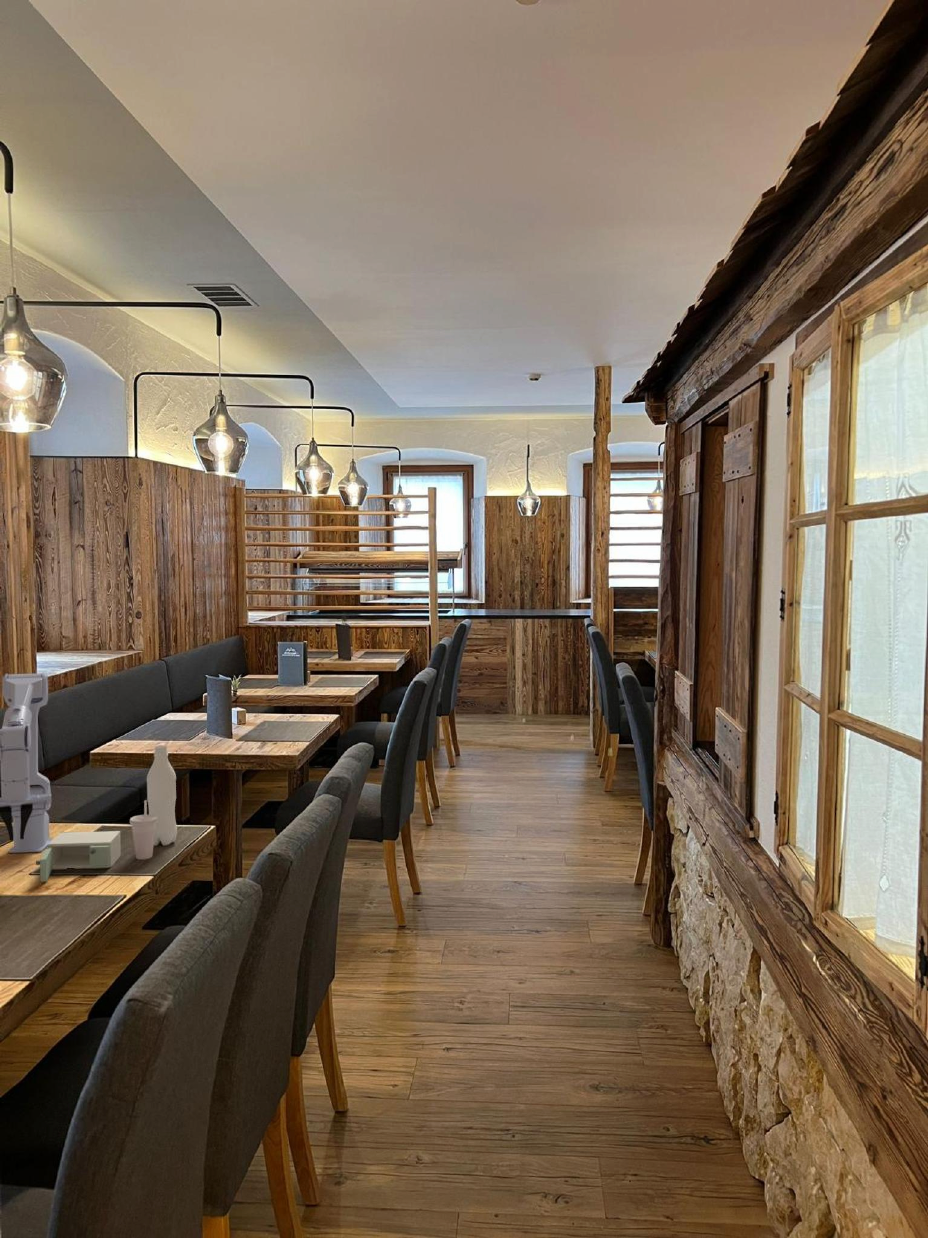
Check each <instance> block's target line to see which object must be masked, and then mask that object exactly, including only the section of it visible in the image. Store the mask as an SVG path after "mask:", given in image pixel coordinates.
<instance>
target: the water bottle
mask: <svg viewBox="0 0 928 1238" xmlns="http://www.w3.org/2000/svg"><path fill="white" fill-rule="evenodd" d="M168 756H169V753H168V745H166V744H165V745H164V744H160V745H155V746H154V754H153V757H154V759H153V763H152V764H151V767H150V769H149V771H148V773H147V775H146V788H147V789H146V794H147V797H146V800H147V805H148V806H147V807H148V815H155V816H157V820H158V821H157V822H156V828H155V837H154V846H158V845H159V844H160V842H161V844H162V846H168V845H170V844H171V843H174V842H175V841H176V838H177V836H178V827H177V822H176V821H177V820H176V812H175V810H176V808H175V807H176V801H177V800H176V799H177V790H176V789H177V788H176V787H177V785H176V784H177V783H176V781H177V776H176V775H177V774H176V772H175V770H174V768H173V766H172V765H171V763H170V761H169V757H168Z"/></svg>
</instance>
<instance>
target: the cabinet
mask: <svg viewBox="0 0 928 1238" xmlns="http://www.w3.org/2000/svg"><path fill="white" fill-rule="evenodd" d="M121 836H122V835H121V831H120V830H113V831H111V830H109V831H108V830H107V831H105V830H104V831H80V832H79V831H76V832H75V831H74V832H71V831H70V832H60V833H59V834H58V835H56V837H54V838H52V839H53V840H52V841H51V842H50V843H49V844H48V846H47V847H51V849H52V870H66V869H67V868H75V869H108V868H109V869H110V868H112V866H114V865H115V863H116V862H117V861H118V859H119V858H120V857H121V855H122V850H121V849H122V847H121V845H122V844H121V841H122V839H121ZM84 867H85V868H84ZM67 870H68V869H67Z"/></svg>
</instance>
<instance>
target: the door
mask: <svg viewBox="0 0 928 1238" xmlns="http://www.w3.org/2000/svg"><path fill="white" fill-rule="evenodd" d="M35 865H36V866H39V865H40V867H39V868H40V869H39V870H40V871H39V874H40V882H41V883H42V882H47V881H48V879H49V877H50V875H51V872H52V870H53V869H52V849H51V847H48V846H47V847H46V848H45V849H44V852H43V853H42V855H41V857H40V859H39V860H36V861H35Z"/></svg>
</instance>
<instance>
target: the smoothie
mask: <svg viewBox="0 0 928 1238" xmlns="http://www.w3.org/2000/svg"><path fill="white" fill-rule="evenodd" d="M143 803H144V806H143V807H144V808H143V812H144V813H143V814H139V815H134V816H132V817H130V819H129V824H130V826H131V832H132V838H133V844H134V850H135V858H136V860H148V859H151V858H153V853H154V846H155V845H154V837H155V828H156V822H157V821H158V820H157V816H155V815H149V814H148V806H147V805H148V801H147V799H144V801H143Z"/></svg>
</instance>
